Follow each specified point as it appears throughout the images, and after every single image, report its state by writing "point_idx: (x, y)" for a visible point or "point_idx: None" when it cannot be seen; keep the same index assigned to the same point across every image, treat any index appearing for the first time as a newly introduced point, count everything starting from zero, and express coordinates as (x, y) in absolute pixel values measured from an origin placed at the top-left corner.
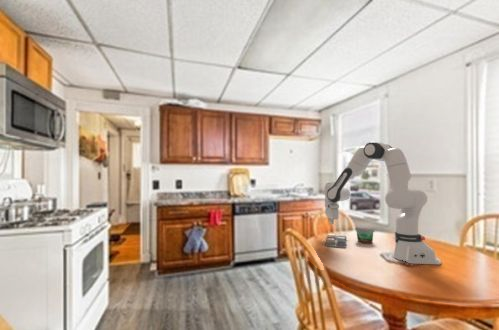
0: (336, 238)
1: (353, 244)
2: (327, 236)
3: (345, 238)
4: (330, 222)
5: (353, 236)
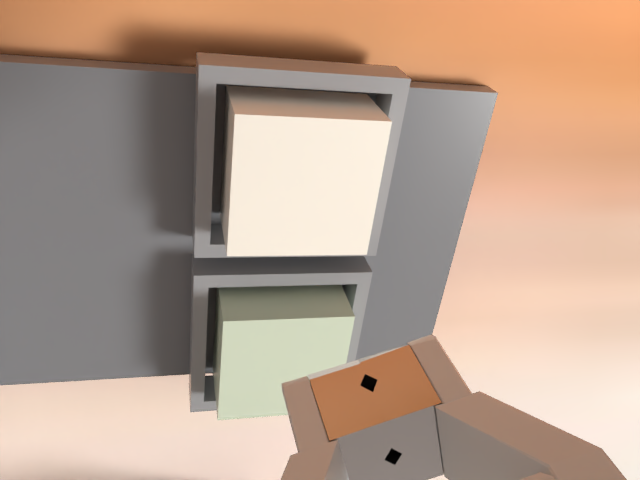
0: None
1: (31, 459)
2: (257, 80)
3: (190, 397)
4: (364, 390)
5: None
